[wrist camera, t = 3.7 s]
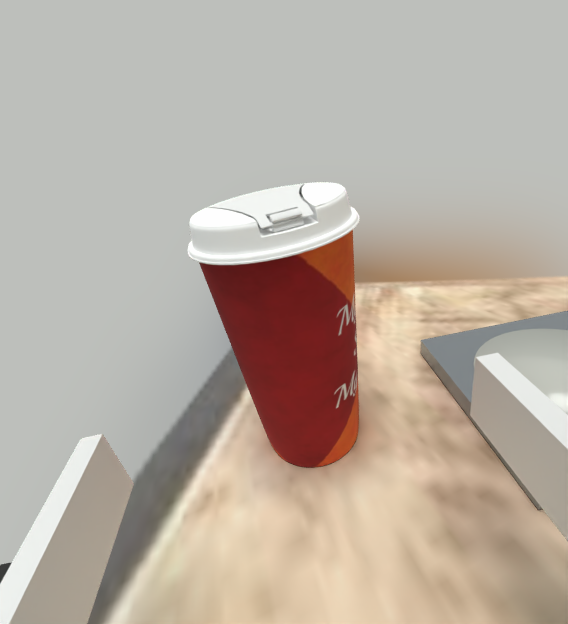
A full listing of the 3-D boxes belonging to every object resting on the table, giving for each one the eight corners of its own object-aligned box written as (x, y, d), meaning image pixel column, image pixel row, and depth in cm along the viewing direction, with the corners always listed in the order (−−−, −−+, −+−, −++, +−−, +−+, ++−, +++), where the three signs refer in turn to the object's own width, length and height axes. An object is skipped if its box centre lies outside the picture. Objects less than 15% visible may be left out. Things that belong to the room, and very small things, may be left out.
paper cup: (403, 455, 19) (395, 189, 12) (268, 508, 17) (177, 245, 11) (343, 372, 25) (316, 174, 19) (243, 406, 24) (177, 207, 18)
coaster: (580, 321, 25) (584, 306, 25) (814, 457, 15) (831, 436, 14) (420, 353, 26) (420, 339, 25) (537, 509, 15) (543, 491, 14)
